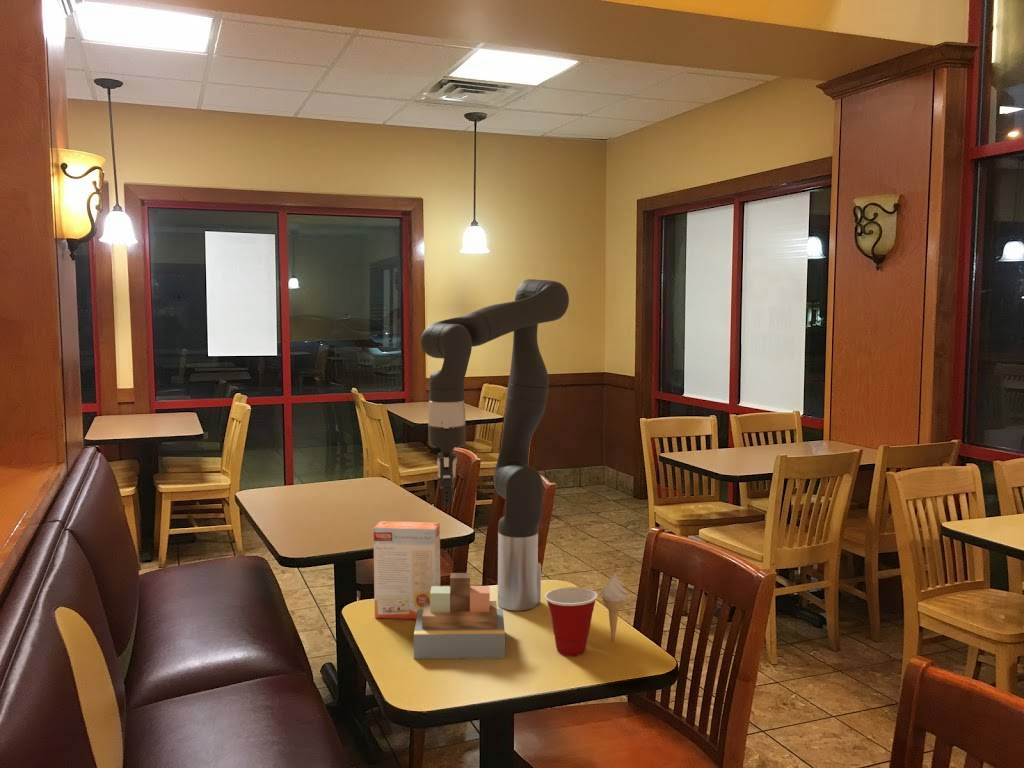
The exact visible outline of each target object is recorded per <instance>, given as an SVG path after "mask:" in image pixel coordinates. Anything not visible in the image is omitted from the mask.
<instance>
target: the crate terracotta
mask: <svg viewBox="0 0 1024 768" xmlns="http://www.w3.org/2000/svg"><path fill="white" fill-rule="evenodd" d="M490 591H491V590H490V585H470V612H490V601H491V599H490V597H491V596H490V595H491V594H490V593H491V592H490Z"/></svg>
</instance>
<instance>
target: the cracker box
mask: <svg viewBox="0 0 1024 768" xmlns="http://www.w3.org/2000/svg"><path fill="white" fill-rule="evenodd" d="M440 525H441V524H440V522H430V521H429V522H427V521H426V522H424V521H422V522H420V521H417V522H416V521H395V520H394V521H392V520H390V521H389V520H380V521H378V523H377V524H376V525H375V526H374V527H373V583H374V584H373V589H374V591H373V592H374V593H373V594H374V595H373V596H374V597H373V598H374V618H377V619H378V618H379V619H397V620H399V619H400V620H402V619H403V620H416V619H417V614H418V609H424V603H425V601H430V592H431V586H441V530H440V529H441V527H440Z"/></svg>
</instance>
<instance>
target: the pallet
mask: <svg viewBox="0 0 1024 768" xmlns="http://www.w3.org/2000/svg"><path fill="white" fill-rule="evenodd" d="M449 579H450V580H449V584H450V585H449V586H450V612H430V601H425V603H424V609H423V615H422V629H480V628H497V609H498V608H497V605H498V603H497V600H490V612H470V586H471V572H450V577H449Z"/></svg>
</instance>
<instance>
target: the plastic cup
mask: <svg viewBox="0 0 1024 768" xmlns="http://www.w3.org/2000/svg"><path fill="white" fill-rule="evenodd" d="M598 596H599V594H598V593H597V591H595V590H593V589H590V588H588V587H580V586H578V587H577V586H575V587H573V586H568V587H567V586H566V587H558V588H555V589H551V590H549V591H547V592H545V595H544V599H545V600H546V602H547V605H548V610H549V613H550V619H551V624H552V625H551V626H552V631H553V635H554V640H555V641H554V642H555V647H556V650H557V652H558V653H559V654H560V655H564V656H568V657H576V656H577V657H578V656H581V655H583V654H584V653H585V651H586V650H587V649H586V648H587V645H588V644H587V643H588V638H589V635H590V628H591V623H592V618H593V617H592V616H593V612H594V608H595V605H596V600H597V599H598Z"/></svg>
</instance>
